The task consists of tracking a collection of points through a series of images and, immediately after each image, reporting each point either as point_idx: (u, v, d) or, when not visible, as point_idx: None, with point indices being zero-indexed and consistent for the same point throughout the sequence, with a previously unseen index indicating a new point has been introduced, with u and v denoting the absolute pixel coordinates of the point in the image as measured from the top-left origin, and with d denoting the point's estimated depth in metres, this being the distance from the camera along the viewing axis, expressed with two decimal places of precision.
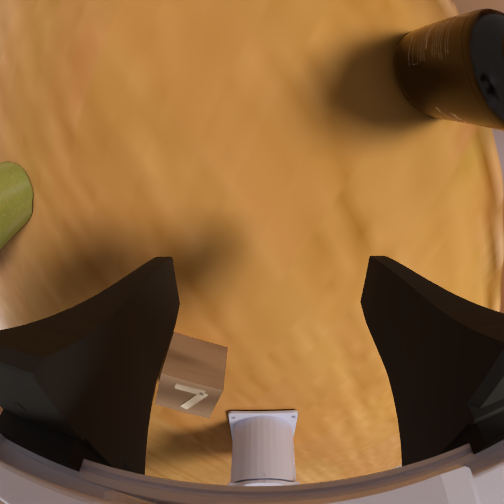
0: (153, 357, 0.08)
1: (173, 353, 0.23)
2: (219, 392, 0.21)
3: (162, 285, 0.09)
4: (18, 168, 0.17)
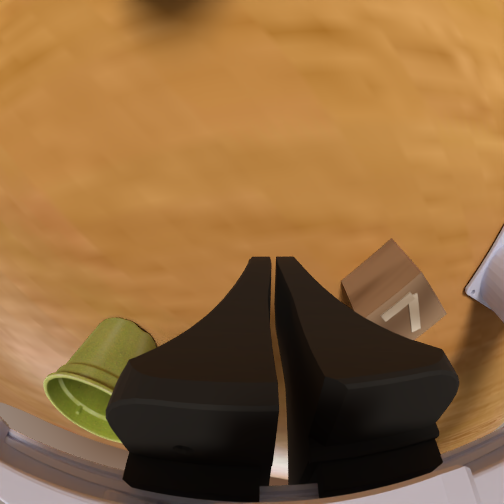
0: None
1: (354, 295, 0.19)
2: (422, 278, 0.16)
3: (270, 286, 0.09)
4: (105, 321, 0.23)
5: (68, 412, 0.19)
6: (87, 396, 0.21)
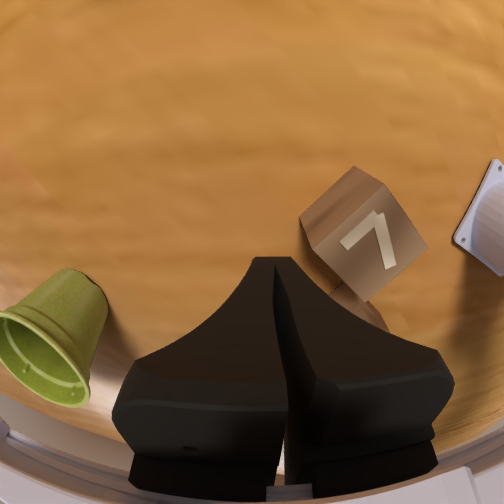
0: None
1: (310, 226, 0.17)
2: (386, 192, 0.13)
3: (273, 286, 0.09)
4: (56, 273, 0.21)
5: (14, 369, 0.16)
6: (36, 354, 0.19)
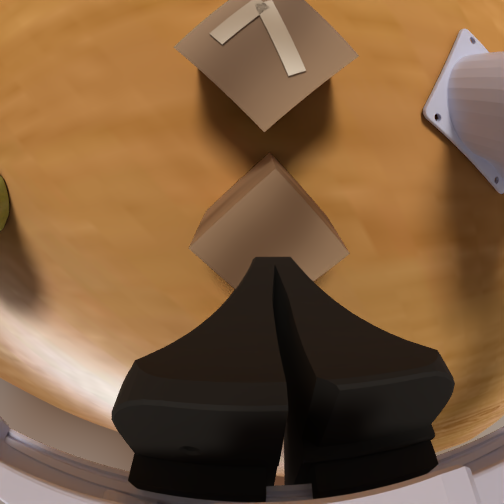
0: None
1: None
2: None
3: (273, 286, 0.09)
4: None
5: None
6: None
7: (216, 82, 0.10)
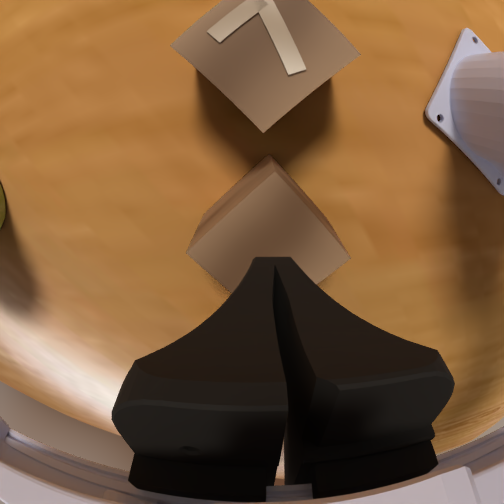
0: None
1: None
2: None
3: (273, 286, 0.09)
4: None
5: None
6: None
7: (213, 81, 0.09)
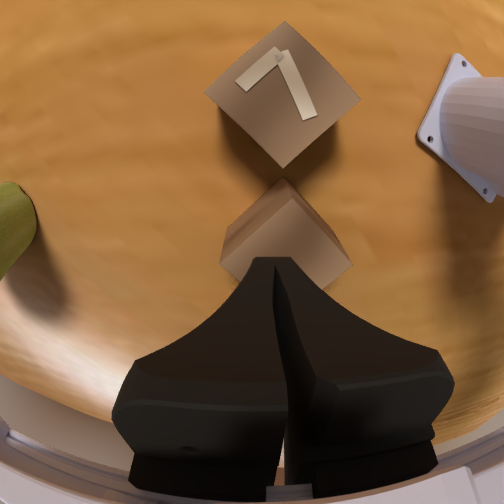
0: None
1: None
2: (289, 29, 0.10)
3: (273, 286, 0.09)
4: None
5: None
6: None
7: (242, 125, 0.12)
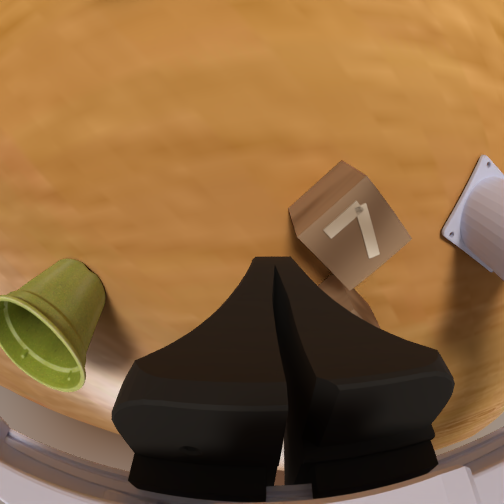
0: None
1: (297, 216, 0.18)
2: (369, 184, 0.14)
3: (273, 286, 0.09)
4: None
5: (13, 354, 0.17)
6: (35, 340, 0.20)
7: (324, 263, 0.17)
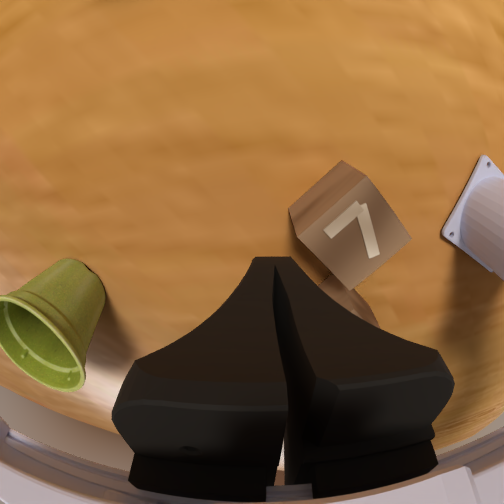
0: None
1: (297, 216, 0.18)
2: (369, 184, 0.14)
3: (273, 286, 0.09)
4: None
5: (13, 354, 0.17)
6: (35, 340, 0.20)
7: (324, 263, 0.17)
